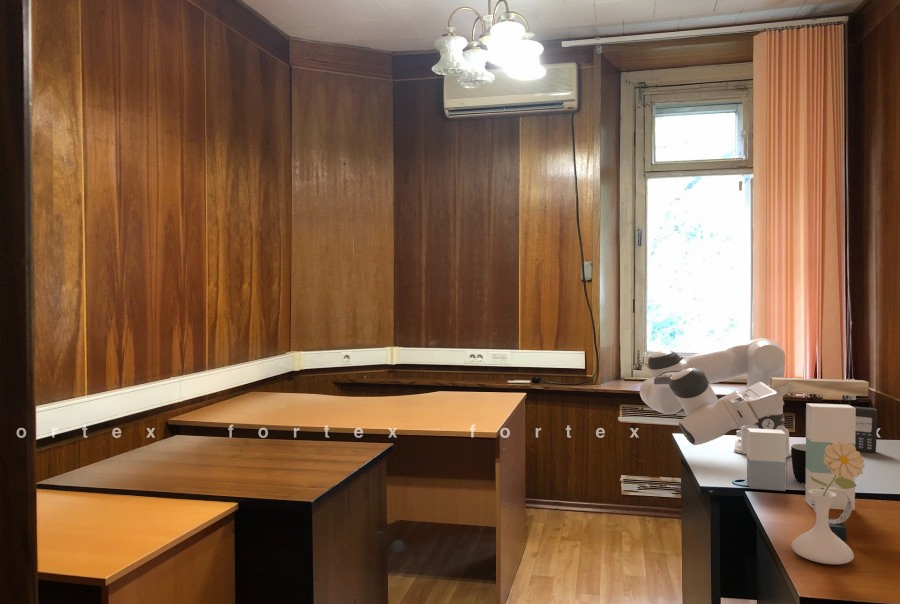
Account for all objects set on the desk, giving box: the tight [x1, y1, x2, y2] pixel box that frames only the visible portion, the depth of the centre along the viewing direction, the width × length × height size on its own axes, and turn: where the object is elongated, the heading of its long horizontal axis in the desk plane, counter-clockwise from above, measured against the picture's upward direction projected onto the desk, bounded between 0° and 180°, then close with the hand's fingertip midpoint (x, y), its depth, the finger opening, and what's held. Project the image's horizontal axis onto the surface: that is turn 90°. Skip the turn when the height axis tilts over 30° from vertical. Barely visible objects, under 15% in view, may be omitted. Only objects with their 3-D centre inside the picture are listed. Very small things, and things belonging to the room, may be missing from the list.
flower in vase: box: [790, 440, 865, 565], centre depth 134 cm, size 13×11×25 cm
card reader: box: [851, 405, 878, 454], centre depth 222 cm, size 9×4×15 cm, turn 57°
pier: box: [746, 428, 787, 492], centre depth 183 cm, size 5×9×16 cm, turn 75°
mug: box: [790, 443, 806, 485], centre depth 189 cm, size 12×9×10 cm
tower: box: [805, 402, 856, 511], centre depth 167 cm, size 5×10×26 cm, turn 75°
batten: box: [770, 377, 870, 397], centre depth 167 cm, size 4×22×4 cm, turn 75°
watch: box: [812, 487, 854, 543], centre depth 147 cm, size 6×8×11 cm
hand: (789, 383), depth 169 cm, fingers closed on batten, 3 cm apart
